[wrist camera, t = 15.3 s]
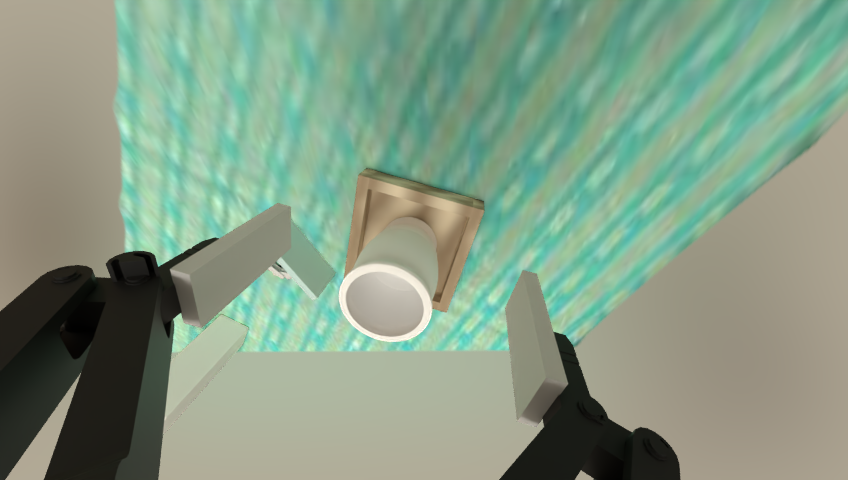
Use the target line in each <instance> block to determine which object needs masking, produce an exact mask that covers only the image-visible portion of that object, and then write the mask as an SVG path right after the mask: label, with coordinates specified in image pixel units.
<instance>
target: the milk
mask: <svg viewBox="0 0 848 480" xmlns="http://www.w3.org/2000/svg"><path fill="white" fill-rule="evenodd" d="M248 329H249V327H247V326H245V325H243V324H241V323H239V322H237V321H235V320H233V319H231V318H229V317H227V316H225V315H223V314H221V315H220V316H219V317H218V318H217V319H216V320H215V321H214V322H212V323H211V324H210V325H209V326H208V327H207V328H206V329H205V330H204V331H203V332H202V333H200V334H199V335H198V336H197V337H196V338H195V339H194V340H193V341H192V342H191V343H190V344H188V345H187V346H186V347H185V348H184V349H183V350H182V351H181V352H180V353H179V354H178V355H177V356H175V357H174V358H173V359H172V360H171V362H170V372H169V381H168V391H167V400H166V410H165V419H164V429H163V435H164V433H165V432H166V431H167V430H168V429H169V428H170V427H171V426H172V424H173V423H174V422H175V421H176V420H177V419H178V418H179V416H180V415H181V414H182V413H183V412H184V411H185V410H186V409H187V407H188V406H189V405H190V404H191V403H192V402H193V401H194V399H195V398H196V397H197V396H198V395H199V394H200V393H201V391H202V390H203V389H204V388H205V387H206V386H207V385H208V384H209V382H210V381H211V380H212V379H213V378H214V377H215V375H216V374H217V373H218V372H219V371H220V370H221V369H222V367H224V365H225V364H226V363H227V362H228V361H229V360H230V359H231V357H232V356H233V355H234V354H235V353H236V352H237V351H238V349H239V348H240V347H241V346H242V345H243V343H244V340H245V337H246V334H247V332H248Z"/></svg>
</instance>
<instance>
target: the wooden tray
mask: <svg viewBox="0 0 848 480" xmlns="http://www.w3.org/2000/svg"><path fill="white" fill-rule="evenodd" d="M483 213H484V201H480V200H477V199H473V198H470V197H466V196H463V195H459V194H456V193H452V192H449V191H445V190H442V189H438V188H435V187H431V186H428V185H424V184H421V183H417V182H414V181H410V180H407V179H403V178H400V177H396V176H392V175H389V174H385V173H382V172H378V171H375V170H371V169H368V168H366V169H365V170H364V171H363V172H361V173H360V174H359V175H358V181H357V188H356V196H355V203H354V210H353V217H352V224H351V231H350V238H349V245H348V252H347V259H346V267H345V274H344V278H345V277H346V275H347V274H348V273H349V272H350V271H351V270H352V269H353V267H354V265H355V262H356V260H357V258H358V257H359V255H360V253H361V252H362V250H363V249H364V248H365V246H366V245H367V244H368V243H369V242H370V241H371V240H372V239H374V238H375V237H376V236H377V235H378V234H379V233H380V232H382V231H383V230H385V228H386V227H387V226H388V224H389V223H391V222H392V221H393V220H395V219H398V218H401V217H413V218H417V219H420V220H422V221H423V222H425V223H426V224H427V225H428V226H429V227H430V228H431V229H432V230H433V232H434V234H435V237H436V240H437V248H436V252H437V261H438V282H437V287H436V291H435V294H434V297H433V300H432V303H433V308H432V309H436V310H439V311H443V312H447V310H448V307H449V304H450V302H451V299H452V296H453V294H454V291H455V288H456V286H457V283H458V280H459V278H460V275H461V272H462V270H463V267H464V264H465V261H466V259H467V256H468V253H469V251H470V248H471V245H472V243H473V240H474V237H475V235H476V232H477V229H478V227H479V224H480V221H481V219H482V216H483Z"/></svg>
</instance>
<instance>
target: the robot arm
mask: <svg viewBox="0 0 848 480" xmlns="http://www.w3.org/2000/svg"><path fill="white" fill-rule="evenodd" d="M290 249H291V207H290V206H287V205H283V204H279V203H277V204H275V205H274V206H272V207H270V208H269V209H267V210H265V211H264V212H262V213H261V214H259V215H257V216H256V217H254V218H252V219H251V220H249V221H247V222H246V223H244V224H243V225H241V226H239V227H238V228H236V229H234V230H233V231H231V232H229V233H228V234H226V235H225V236H223V237H221V238H220V239H219V238H212V239H208V240H205V241H202V242H200V243H199V244H197V245H195V246H193V247H192V249H188V250H187V251H185V252H184V253H183V254H182V253H181V254H180V255H178V256H176V257H175V258H173V259H171V260H169V261H168V262H166V263H164V264H163V265H161V266H159V267H158V265H157V262H156V258H155V255H154V254H152V253H150V252H145V251H133V252H127V253H123V254H120V255H117V256H115V257H113V258H111V259H110V260H109V261H108V262H107V263H106V266H107V269H108V271H109V274H110V276H111V278H98V277H95V275H94V273H93V270H92V269H91V268H89V267H87V266H80V265H75V266H66V267H61V268H58V269H55V270H52V271H50V272H47V273H46V274H44V275H42V276H41V277H40V278H38V279H37V280H36V281H35V282H34V283H33V284H31V285H30V286H29V287H28V288H27V289H26V290H25V291H23V293H21V294H20V295H19V296H18V297H16V298H15V299H14V300H13V301H12V302H11V303H9V304H8V305H7V306H6V307H5V308H4V309H3V310H1V311H0V480H5V479H6V478H7V476H8V475H9V473H10V472H11V470H12V469H13V468H14V466H15V465H16V463H17V462H18V461H19V459H20V458H21V456H22V455H23V454H24V452H25V451H26V449H27V448H28V447H29V445H30V444H31V442H32V441H33V440H34V438H35V437H36V435H37V434H38V432H39V431H40V430H41V428H42V427H43V425H44V424H45V423H46V421H47V420H48V418H49V417H50V416H51V414H52V413H53V411H54V410H55V408H56V407H57V406H58V404H59V403H60V401H61V400H62V399H63V397H64V396H65V394H66V393H67V391H68V390H69V389H70V387H71V386H72V384H73V383H74V382H75V380H76V379H77V377H78V376H79V374H80V373H81V375H80V378H79V381H78V384H77V386H76V389H75V392H74V395H73V398H72V401H71V404H70V407H69V409H68V412H67V415H66V418H65V421H64V424H63V427H62V429H61V433H60V435H59V438H58V441H57V444H56V447H55V450H54V452H53V455H52V458H51V461H50V464H49V467H48V470H47V472H46V475H45V478H44V480H158V476H159V466H160V457H161V446H162V438H163V429H164V419H165V410H166V400H167V391H168V381H169V372H170V362H171V353H172V343H173V334H174V321H173V318H175V317H176V316H177V315H178V314H180V313H181V314H182V318H183V322H184V323H186V324H189V325H192V326H196V327H199V328H202V327H203V326H204V325H206V324H207V323H208V322H209V321H210V320H211V319H212V318H213V317H214V316H216V315H217V314H218V313H219V312H220V311H221V310H222V309H223V308H225V307H226V306H227V305H228V304H229V303H230V302H231V301H232V300H234V299H235V298H236V297H237V296H238V295H239V294H240V293H241V292H242V291H244V290H245V289H246V288H247V287H248V286H249V285H250V284H251V283H253V282H254V281H255V280H256V279H257V278H258V277H259V276H260V275H262V274H263V273H264V272H265V271H266V270H267V269H268V268H269V267H271V266H272V265H273V264H274V263H275V262H276V261H277V260H278V259H279V258H281V257H282V256H283V255H284V254H285V253H286V252H287V251H288V250H290ZM505 311H506V320H507V330H508V339H509V349H510V358H511V368H512V377H513V387H514V397H515V406H516V416H517V421H518V422H521V423H524V424H528V425H531V426H534V427H537V426H538V424H539V423H540V422H541V420H542V419H543V423H544V428H543V429H542V430H541V431H540V432H539V434H538V435H537V436H536V437H535V438H534V440H533V441H532V442H531V443H530V444H529V445H528V446H527V448H526V449H525V450H524V451H523V452H522V454H521V455H520V456H519V457H518V458H517V459H516V461H515V462H514V463H513V464H512V465H511V466H510V468H509V469H508V470H507V471H506V472H505V474H504V475H503V476H502V477H501V478H500V479H499V480H575V478H576V477H577V475H578V474H579V472H580V470H582V471H583V472H585V473H586V474H588V475H590V476H591V477H592V478H594V480H680V468H679V462H678V458H677V455H676V454H675V452H674V451H673V449H672V447H671V446H670V445H669V444H668V443H667V442H666V441H665V440H664V439H663V438H662V437H661V436H659V435H658V434H657V433H655V432H654V431H652V430H649V429H648V428H642V427H640V428H638V429H635V430H634V431H633V432H630V431H629V430H627V429H625V428H623V427H622V426H620V425H618V424H616V423H615V422H613V421H611V420H610V419H608V416H607V414H606V412H605V410H604V409H603V407H602V406H601V405H600V404H599V403H598V402H597V401H596V400H595V399H593V398H592V397H591V396H590V394H589V391H588V388H587V385H586V382H585V379H584V376H583V373H582V370H581V368H580V366H579V362H578V359H577V357H576V353H575V350H574V347H573V345H572V344H571V342H570V341H569V339H568V338H567V337H566V335H563V334H559V333H556V332H553V329H552V325H551V322H550V318H549V315H548V311H547V308H546V304H545V301H544V297H543V294H542V290H541V287H540V283H539V280H538V276H537V274H535V273H532V272H528V271H524V270H523V271H522V273H521V275H520V277H519V279H518V282H517V284H516V286H515V288H514V290H513V292H512V294H511V297H510V299H509V301H508V303H507V305H506V307H505Z"/></svg>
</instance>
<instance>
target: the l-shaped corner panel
mask: <svg viewBox="0 0 848 480" xmlns="http://www.w3.org/2000/svg"><path fill="white" fill-rule="evenodd" d="M277 262H278V263H279V264H280V265H281V266H282V267H283V268H281V267H279V266H278V265H277V264H276V262H275V263H274V264H273V265H272V266H271V267H269V268H268V270H269V271H272V272H273V275H275V276H278V277H280V278H281V279H283V278H285V277H286V278H287V279H291V278H293V280H294V281H295V282H296V283H297V284H298V285H299V286H300V287H301V288H302V289H303V291H304V292H305V293H306V294H307V295H308V296H309V297H310V298H311V299H312V301H313V300H315V299H317V298H318V297H319V295H320V294H321V293H322V291H323V290H324V289H325V287H326V286H327V284H328V283H329V282H330V280H331V279H332V278H333V276H334V275H335V273H336V272H335V271H334V270H333V269H332V267H331V266H330V265H329V264H328V263H327V261H326V260H325V259H324V258H323V257H322V255H321V254H320V253H319V252H318V251H317V249H316V248H315V247H314V246H313V245H312V243H311V242H310V241H309V240H308V239H307V237H306V236H305V235H304V234H303V233H302V231H301V230H300V229H299V228H298V227H297V225H296V224H295V223H294V222H293V221H292V219H291V249H290V250H288V251H287V252H286V253H285V254H284V255H283V256H282V257H281V258H279V259H278V260H277Z"/></svg>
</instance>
